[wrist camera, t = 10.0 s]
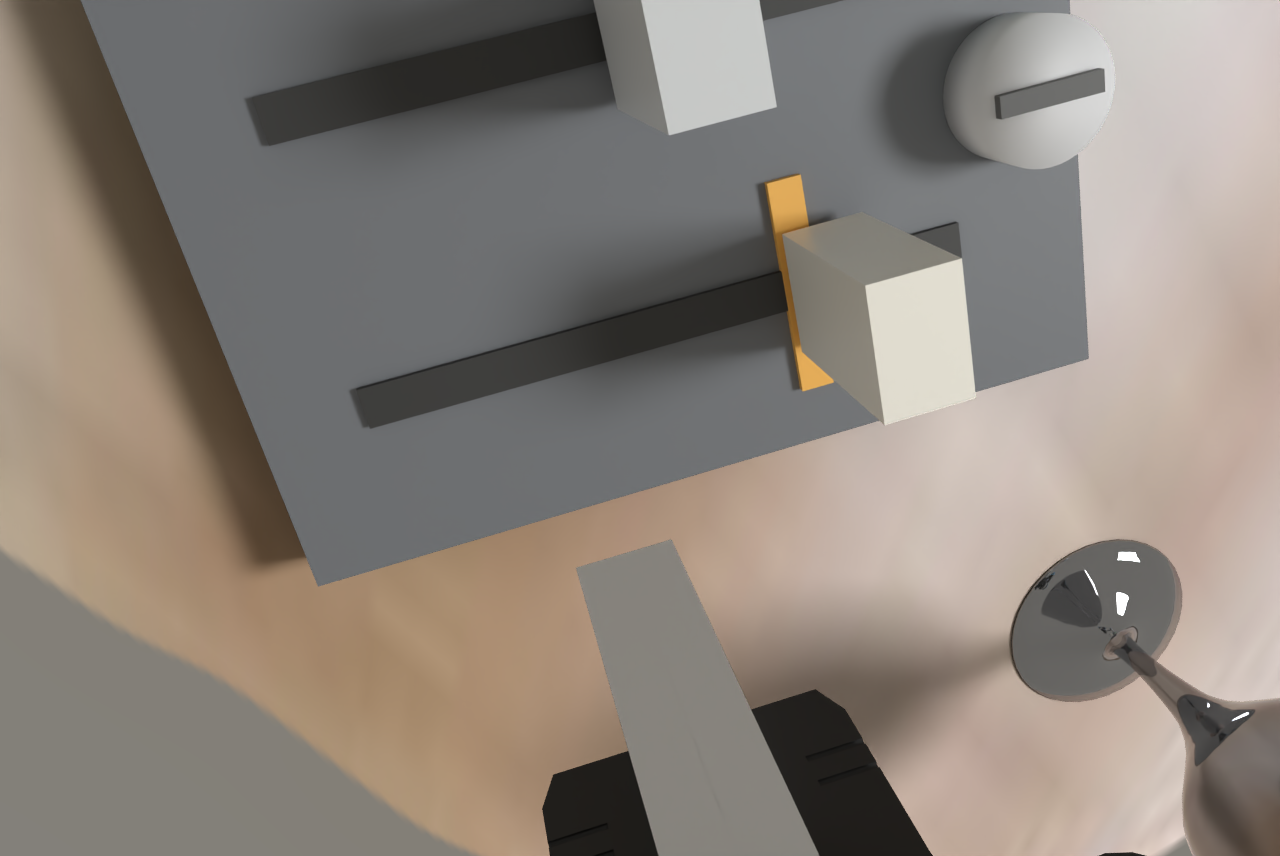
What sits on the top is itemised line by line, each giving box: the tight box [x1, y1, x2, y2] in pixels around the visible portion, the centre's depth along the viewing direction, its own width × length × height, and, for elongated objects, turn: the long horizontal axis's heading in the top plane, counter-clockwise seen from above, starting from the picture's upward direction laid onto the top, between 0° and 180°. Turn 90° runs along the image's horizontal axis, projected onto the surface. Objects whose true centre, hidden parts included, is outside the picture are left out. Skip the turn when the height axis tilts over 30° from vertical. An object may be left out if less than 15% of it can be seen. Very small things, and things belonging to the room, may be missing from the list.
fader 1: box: [593, 0, 777, 135], centre depth 25 cm, size 4×2×6 cm, turn 13°
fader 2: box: [782, 212, 976, 425], centre depth 28 cm, size 4×2×6 cm, turn 13°
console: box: [81, 0, 1115, 586], centre depth 29 cm, size 18×25×4 cm
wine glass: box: [1011, 540, 1280, 856], centre depth 34 cm, size 8×8×15 cm
